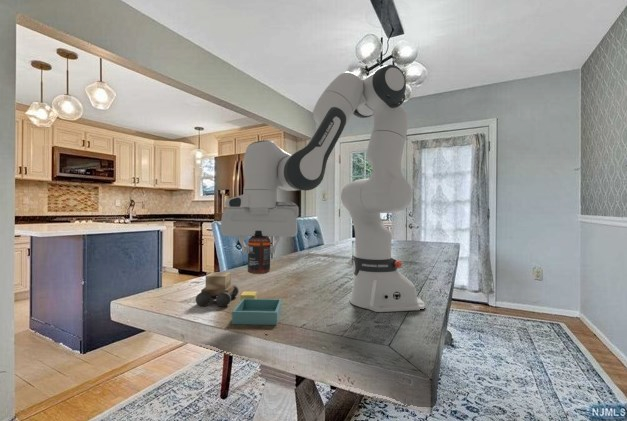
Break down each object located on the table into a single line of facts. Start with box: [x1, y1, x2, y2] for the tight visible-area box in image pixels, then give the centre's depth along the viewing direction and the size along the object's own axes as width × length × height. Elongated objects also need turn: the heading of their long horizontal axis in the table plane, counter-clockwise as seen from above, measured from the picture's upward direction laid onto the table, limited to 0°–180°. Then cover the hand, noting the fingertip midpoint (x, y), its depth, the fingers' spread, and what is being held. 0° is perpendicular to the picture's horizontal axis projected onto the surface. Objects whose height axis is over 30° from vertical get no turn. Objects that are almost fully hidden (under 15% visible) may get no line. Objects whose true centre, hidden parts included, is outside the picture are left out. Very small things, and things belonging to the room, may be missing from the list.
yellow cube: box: [240, 290, 258, 301], centre depth 90 cm, size 4×4×4 cm
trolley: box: [195, 271, 240, 308], centre depth 94 cm, size 10×10×8 cm
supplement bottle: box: [247, 231, 272, 275], centre depth 81 cm, size 6×6×11 cm
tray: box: [231, 298, 283, 326], centre depth 81 cm, size 11×11×3 cm
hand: (259, 253), depth 81 cm, fingers closed on supplement bottle, 6 cm apart
